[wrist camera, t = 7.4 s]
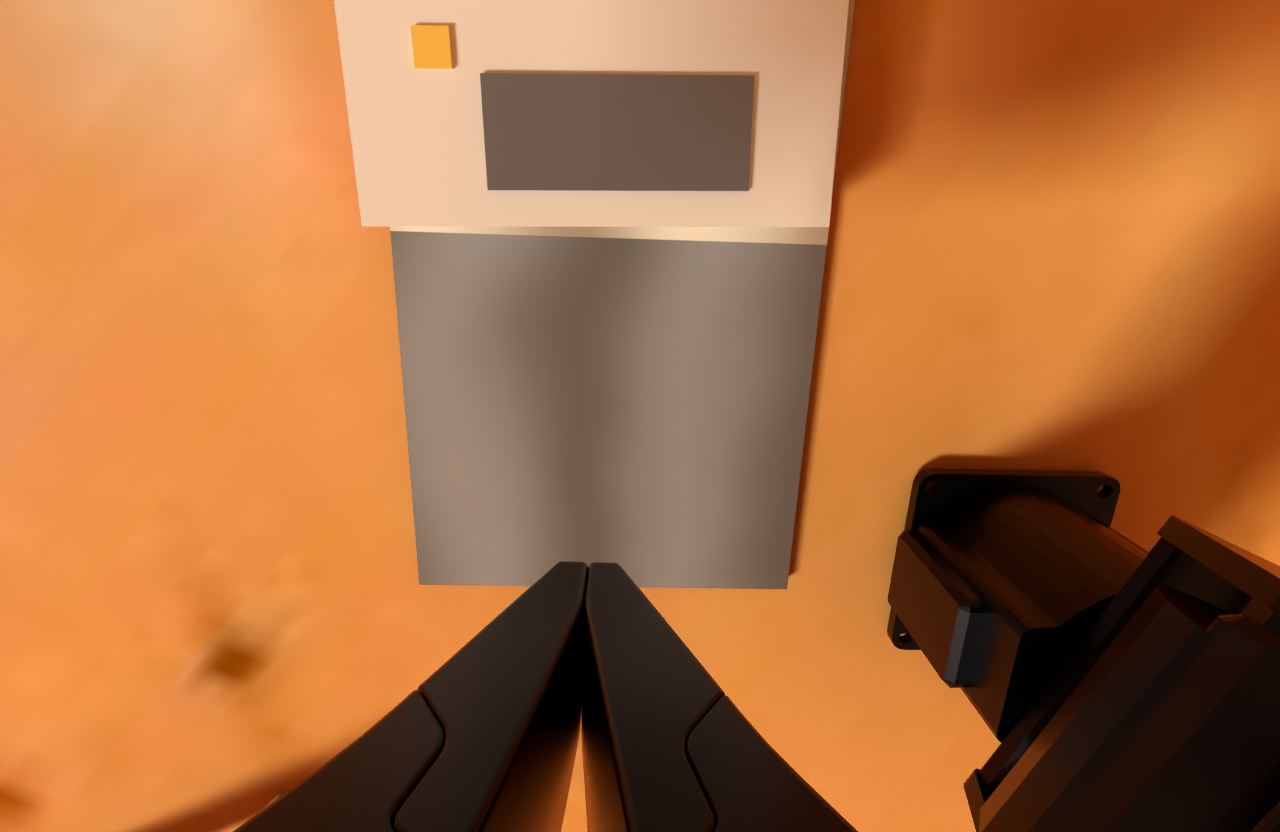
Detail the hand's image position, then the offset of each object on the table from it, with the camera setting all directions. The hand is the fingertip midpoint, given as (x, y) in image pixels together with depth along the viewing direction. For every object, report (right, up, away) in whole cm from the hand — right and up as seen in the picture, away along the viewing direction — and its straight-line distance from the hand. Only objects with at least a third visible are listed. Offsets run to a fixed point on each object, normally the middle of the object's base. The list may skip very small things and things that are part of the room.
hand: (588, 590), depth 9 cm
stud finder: (0, +10, +8) cm, 13 cm away
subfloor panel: (0, +6, +9) cm, 11 cm away
